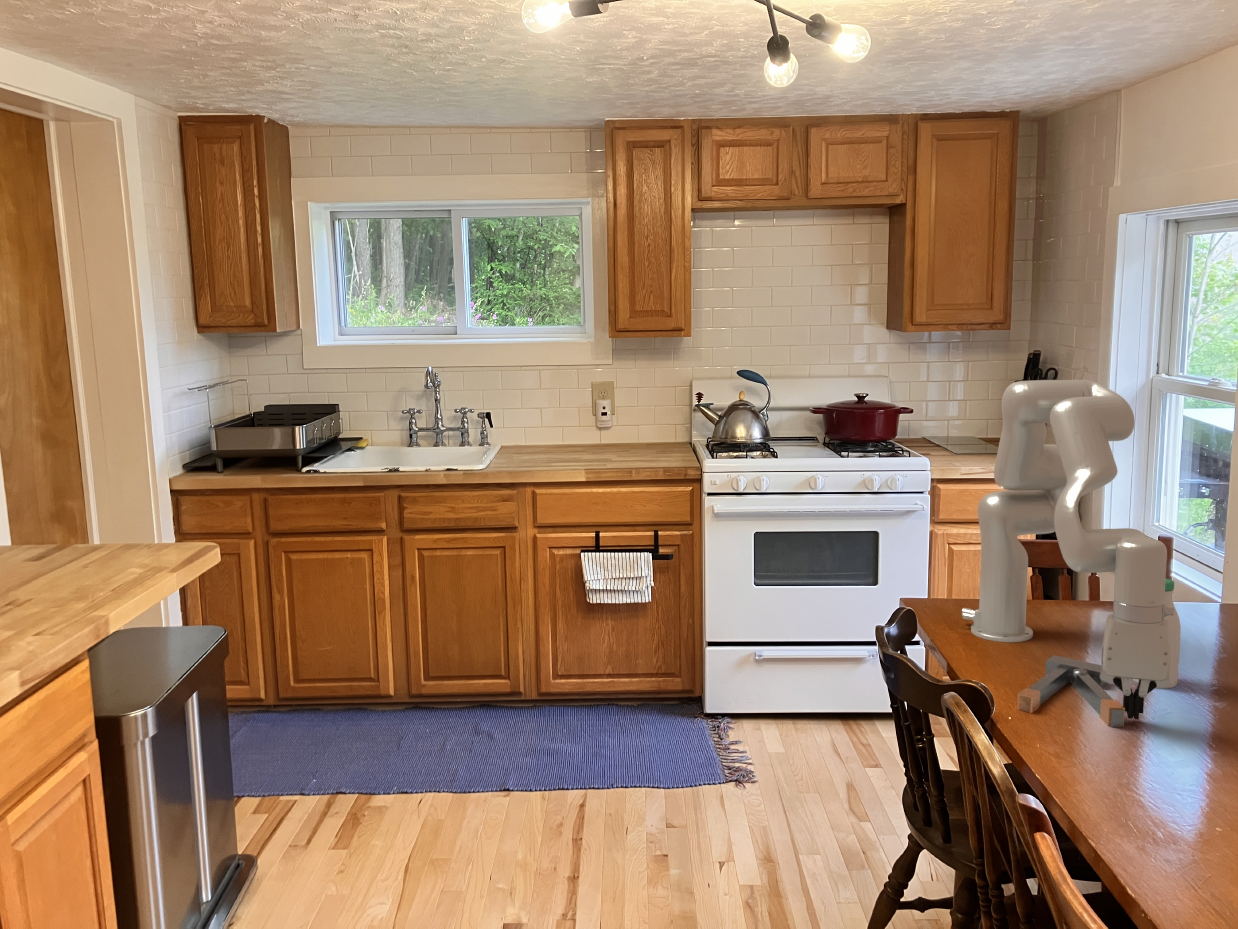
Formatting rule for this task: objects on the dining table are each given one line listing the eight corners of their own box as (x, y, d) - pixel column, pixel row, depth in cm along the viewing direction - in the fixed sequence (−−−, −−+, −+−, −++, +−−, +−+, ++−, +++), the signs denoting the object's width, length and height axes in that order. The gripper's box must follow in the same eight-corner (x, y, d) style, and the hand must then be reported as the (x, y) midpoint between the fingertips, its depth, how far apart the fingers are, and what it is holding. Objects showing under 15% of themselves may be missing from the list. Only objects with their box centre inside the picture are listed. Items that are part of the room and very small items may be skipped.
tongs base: (1006, 708, 179) (1006, 689, 178) (1052, 672, 195) (1053, 655, 195) (1064, 722, 172) (1065, 703, 171) (1107, 684, 189) (1108, 666, 188)
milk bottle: (1173, 677, 191) (1179, 575, 188) (1180, 692, 184) (1188, 586, 181) (1128, 673, 194) (1134, 573, 191) (1134, 687, 187) (1140, 583, 184)
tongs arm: (1070, 684, 188) (1070, 668, 187) (1084, 685, 188) (1085, 668, 187) (1108, 726, 169) (1109, 708, 169) (1125, 727, 169) (1126, 709, 168)
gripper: (1185, 609, 169) (1179, 713, 171) (1087, 602, 174) (1083, 703, 177) (1192, 622, 162) (1185, 730, 164) (1090, 614, 167) (1085, 719, 170)
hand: (1132, 716), depth 170 cm, fingers closed
